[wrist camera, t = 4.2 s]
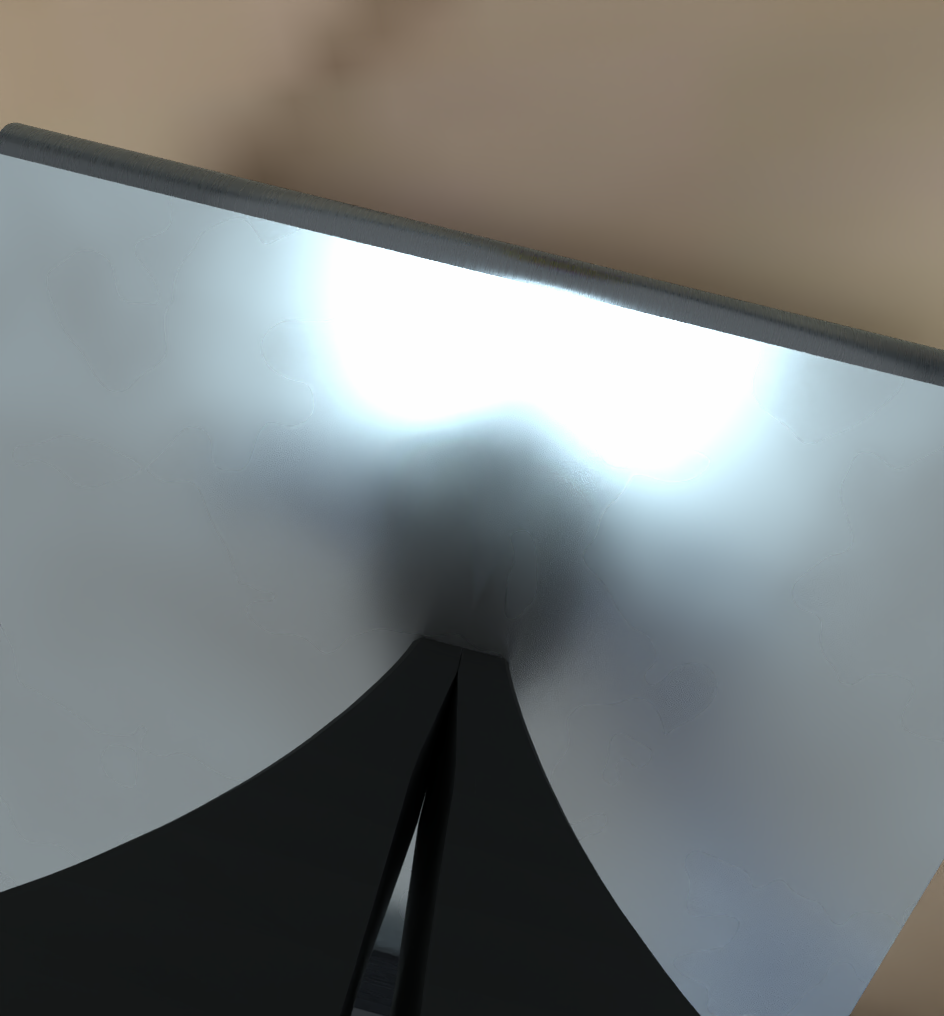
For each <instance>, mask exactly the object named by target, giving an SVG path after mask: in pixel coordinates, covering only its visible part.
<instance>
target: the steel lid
mask: <svg viewBox="0 0 944 1016" xmlns="http://www.w3.org/2000/svg"><path fill="white" fill-rule="evenodd" d="M421 637H425V638H429V639H433V640H436V641H440V642H444V643H448V644H452V645H455V646H459V647H463V648H467V649H471V650H474V651H478V652H482V653H486V654H490V655H494V656H498V657H501V658H504V659H505V661H506V662H507V664H508V666H509V668H510V673H511V678H512V682H513V686H514V689H515V693H516V696H517V700H518V703H519V706H520V709H521V712H522V715H523V718H524V721H525V724H526V726H527V729H528V732H529V734H530V737H531V739H532V742H533V744H534V747H535V749H536V752H537V754H538V757H539V759H540V762H541V764H542V767H543V769H544V771H545V773H546V776H547V778H548V780H549V783H550V785H551V787H552V789H553V791H554V793H555V795H556V797H557V799H558V801H559V803H560V806H561V808H562V810H563V812H564V814H565V816H566V818H567V820H568V821H569V823H570V825H571V827H572V829H573V831H574V833H575V835H576V837H577V838H578V840H579V842H580V844H581V846H582V848H583V849H584V851H585V853H586V854H587V856H588V858H589V859H590V861H591V863H592V865H593V866H594V868H595V870H596V871H597V873H598V875H599V876H600V878H601V880H602V881H603V883H604V884H605V886H606V888H607V889H608V891H609V892H610V894H611V895H612V897H613V898H614V900H615V902H616V903H617V905H618V906H619V908H620V909H621V911H622V912H623V914H624V915H625V916H626V918H627V919H628V920H629V922H630V923H631V925H632V926H633V927H634V929H635V930H636V932H637V933H638V934H639V936H640V937H641V938H642V940H643V941H644V943H645V944H646V945H647V947H648V948H649V950H650V951H651V952H652V954H653V955H654V956H655V958H656V959H657V961H658V962H659V963H660V965H661V966H662V968H663V969H664V970H665V972H666V973H667V974H668V975H669V977H670V978H671V979H672V981H673V982H674V983H675V985H676V986H677V987H678V988H679V990H680V991H681V992H682V994H683V995H684V996H685V997H686V999H687V1000H688V1001H689V1002H690V1003H691V1005H692V1006H693V1007H694V1008H695V1009H696V1011H697V1012H698V1013H699V1014H700V1015H701V1016H849V1015H850V1013H851V1012H852V1010H853V1009H854V1007H855V1005H856V1004H857V1002H858V1000H859V999H860V997H861V995H862V994H863V992H864V990H865V989H866V987H867V985H868V984H869V982H870V980H871V979H872V977H873V975H874V974H875V972H876V970H877V969H878V967H879V965H880V964H881V962H882V960H883V959H884V957H885V955H886V954H887V952H888V950H889V949H890V947H891V946H892V944H893V942H894V941H895V939H896V937H897V936H898V934H899V932H900V931H901V929H902V927H903V926H904V924H905V922H906V921H907V919H908V917H909V916H910V914H911V912H912V911H913V909H914V907H915V906H916V904H917V902H918V901H919V899H920V897H921V896H922V894H923V892H924V891H925V889H926V888H927V886H928V884H929V883H930V881H931V879H932V878H933V876H934V874H935V873H936V871H937V869H938V868H939V866H940V864H941V863H942V861H943V859H944V350H941V349H937V348H933V347H929V346H925V345H921V344H917V343H913V342H909V341H904V340H900V339H896V338H892V337H888V336H884V335H880V334H876V333H872V332H868V331H864V330H860V329H856V328H851V327H847V326H843V325H839V324H835V323H831V322H827V321H823V320H819V319H815V318H811V317H807V316H803V315H799V314H794V313H790V312H786V311H782V310H778V309H774V308H770V307H766V306H762V305H758V304H754V303H750V302H746V301H741V300H737V299H733V298H729V297H725V296H721V295H717V294H713V293H709V292H705V291H701V290H697V289H693V288H689V287H684V286H680V285H676V284H672V283H668V282H664V281H660V280H656V279H652V278H648V277H644V276H640V275H636V274H631V273H627V272H623V271H619V270H615V269H611V268H607V267H603V266H599V265H595V264H591V263H587V262H583V261H578V260H574V259H570V258H566V257H562V256H558V255H554V254H550V253H546V252H542V251H538V250H534V249H530V248H526V247H521V246H517V245H513V244H509V243H505V242H501V241H497V240H493V239H489V238H485V237H481V236H477V235H473V234H468V233H464V232H460V231H456V230H452V229H448V228H444V227H440V226H436V225H432V224H428V223H424V222H420V221H416V220H411V219H407V218H403V217H399V216H395V215H391V214H387V213H383V212H379V211H375V210H371V209H367V208H363V207H358V206H354V205H350V204H346V203H342V202H338V201H334V200H330V199H326V198H322V197H318V196H314V195H310V194H305V193H301V192H297V191H293V190H289V189H285V188H281V187H277V186H273V185H269V184H265V183H261V182H257V181H253V180H248V179H244V178H240V177H236V176H232V175H228V174H224V173H220V172H216V171H212V170H208V169H204V168H200V167H195V166H191V165H187V164H183V163H179V162H175V161H171V160H167V159H163V158H159V157H155V156H151V155H147V154H143V153H138V152H134V151H130V150H126V149H122V148H118V147H114V146H110V145H106V144H102V143H98V142H94V141H90V140H85V139H81V138H77V137H73V136H69V135H65V134H61V133H57V132H53V131H49V130H45V129H41V128H37V127H33V126H28V125H24V124H20V123H10V124H8V125H6V126H5V127H4V128H3V129H2V130H1V131H0V892H2V891H5V890H8V889H11V888H14V887H16V886H19V885H22V884H25V883H28V882H31V881H33V880H36V879H39V878H42V877H45V876H48V875H50V874H53V873H55V872H58V871H60V870H63V869H65V868H68V867H71V866H73V865H76V864H78V863H80V862H83V861H85V860H88V859H90V858H92V857H94V856H97V855H99V854H101V853H103V852H105V851H108V850H110V849H112V848H114V847H117V846H119V845H121V844H123V843H125V842H128V841H130V840H132V839H134V838H137V837H139V836H141V835H143V834H145V833H148V832H150V831H152V830H154V829H156V828H159V827H161V826H163V825H165V824H167V823H169V822H171V821H173V820H175V819H177V818H179V817H181V816H183V815H185V814H187V813H189V812H191V811H192V810H194V809H196V808H198V807H200V806H202V805H204V804H205V803H207V802H209V801H211V800H212V799H214V798H216V797H218V796H220V795H221V794H223V793H225V792H227V791H228V790H230V789H232V788H234V787H235V786H237V785H239V784H241V783H243V782H244V781H246V780H248V779H249V778H251V777H252V776H254V775H256V774H257V773H259V772H260V771H262V770H263V769H265V768H267V767H268V766H270V765H271V764H273V763H274V762H276V761H277V760H279V759H280V758H282V757H283V756H285V755H286V754H288V753H289V752H291V751H292V750H294V749H295V748H296V747H298V746H299V745H301V744H302V743H303V742H305V741H306V740H308V739H309V738H310V737H311V736H313V735H314V734H315V733H317V732H318V731H319V730H320V729H322V728H323V727H324V726H325V725H327V724H328V723H329V722H331V721H332V720H333V719H334V718H336V717H337V716H338V715H340V714H341V713H342V712H343V711H345V710H346V709H347V708H348V707H349V706H350V705H352V704H353V703H354V702H355V701H356V700H357V699H358V698H359V697H360V696H362V695H363V694H364V693H365V692H366V691H367V690H368V689H369V688H370V687H371V686H373V685H374V684H375V683H376V682H377V681H378V680H379V679H380V678H381V677H382V676H383V675H384V674H385V673H386V672H387V671H388V670H389V669H390V668H391V667H392V666H393V665H394V664H395V663H396V662H397V661H398V660H399V658H400V657H401V656H402V655H403V654H404V653H405V651H406V650H407V649H408V648H409V646H410V645H411V644H412V642H413V641H415V640H417V639H419V638H421ZM463 648H462V650H463ZM461 654H462V653H461ZM460 658H461V657H460ZM425 794H426V793H425ZM424 798H425V797H424ZM423 802H424V801H423ZM422 806H423V805H422ZM421 810H422V809H421ZM420 814H421V812H420ZM419 818H420V816H419ZM418 822H419V820H418ZM417 829H418V823H417V826H416V829H415V832H414V835H413V838H412V840H411V843H410V846H409V849H408V852H407V855H406V857H405V860H404V863H403V866H402V869H401V872H400V875H399V877H398V880H397V883H396V886H395V889H394V891H393V894H392V897H391V900H390V903H389V906H388V908H387V911H386V914H385V917H384V920H383V922H382V925H381V928H380V931H379V934H378V937H377V939H376V942H375V945H374V948H373V951H372V954H371V956H370V959H369V962H368V965H367V968H366V970H365V973H364V976H363V979H362V983H361V986H360V989H359V992H358V995H357V999H356V1002H355V1005H354V1008H353V1011H352V1014H351V1016H390V1011H391V1005H392V999H393V994H394V988H395V982H396V975H397V968H398V961H399V954H400V947H401V940H402V933H403V926H404V919H405V912H406V905H407V898H408V891H409V884H410V877H411V870H412V863H413V856H414V849H415V842H416V835H417Z"/></svg>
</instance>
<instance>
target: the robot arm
mask: <svg viewBox="0 0 944 1016" xmlns="http://www.w3.org/2000/svg"><path fill="white" fill-rule="evenodd" d="M462 648H463V647H459V646H455V645H452V644H448V643H444V642H440V641H436V640H433V639H429V638H425V637H421V638H419V639H417V640H415V641H413V642H412V644H411V645H410V646H409V648H408V649H407V650H406V651H405V653H404V654H403V655H402V656H401V657H400V658H399V660H398V661H397V662H396V663H395V664H394V665H393V666H392V667H391V668H390V669H389V670H388V671H387V672H386V673H385V674H384V675H383V676H382V677H381V678H380V679H379V680H378V681H377V682H376V683H375V684H374V685H373V686H371V687H370V688H369V689H368V690H367V691H366V692H365V693H364V694H363V695H362V696H360V697H359V698H358V699H357V700H356V701H355V702H354V703H353V704H352V705H350V706H349V707H348V708H347V709H346V710H345V711H343V712H342V713H341V714H340V715H338V716H337V717H336V718H334V719H333V720H332V721H331V722H329V723H328V724H327V725H325V726H324V727H323V728H322V729H320V730H319V731H318V732H317V733H315V734H314V735H313V736H311V737H310V738H309V739H308V740H306V741H305V742H303V743H302V744H301V745H299V746H298V747H296V748H295V749H294V750H292V751H291V752H289V753H288V754H286V755H285V756H283V757H282V758H280V759H279V760H277V761H276V762H274V763H273V764H271V765H270V766H268V767H267V768H265V769H263V770H262V771H260V772H259V773H257V774H256V775H254V776H252V777H251V778H249V779H248V780H246V781H244V782H243V783H241V784H239V785H237V786H235V787H234V788H232V789H230V790H228V791H227V792H225V793H223V794H221V795H220V796H218V797H216V798H214V799H212V800H211V801H209V802H207V803H205V804H204V805H202V806H200V807H198V808H196V809H194V810H192V811H191V812H189V813H187V814H185V815H183V816H181V817H179V818H177V819H175V820H173V821H171V822H169V823H167V824H165V825H163V826H161V827H159V828H156V829H154V830H152V831H150V832H148V833H145V834H143V835H141V836H139V837H137V838H134V839H132V840H130V841H128V842H125V843H123V844H121V845H119V846H117V847H114V848H112V849H110V850H108V851H105V852H103V853H101V854H99V855H97V856H94V857H92V858H90V859H88V860H85V861H83V862H80V863H78V864H76V865H73V866H71V867H68V868H65V869H63V870H60V871H58V872H55V873H53V874H50V875H48V876H45V877H42V878H39V879H36V880H33V881H31V882H28V883H25V884H22V885H19V886H16V887H14V888H11V889H8V890H5V891H2V892H0V1016H351V1014H352V1011H353V1008H354V1005H355V1002H356V999H357V995H358V992H359V989H360V986H361V983H362V979H363V976H364V973H365V970H366V968H367V965H368V962H369V959H370V956H371V954H372V951H373V948H374V945H375V942H376V939H377V937H378V934H379V931H380V928H381V925H382V922H383V920H384V917H385V914H386V911H387V908H388V906H389V903H390V900H391V897H392V894H393V891H394V889H395V886H396V883H397V880H398V877H399V875H400V872H401V869H402V866H403V863H404V860H405V857H406V855H407V852H408V849H409V846H410V843H411V840H412V838H413V835H414V832H415V829H416V826H417V823H418V829H417V835H416V842H415V849H414V856H413V863H412V870H411V877H410V884H409V891H408V898H407V905H406V912H405V919H404V926H403V933H402V940H401V947H400V954H399V961H398V968H397V975H396V982H395V988H394V994H393V999H392V1005H391V1011H390V1016H701V1015H700V1014H699V1013H698V1012H697V1011H696V1009H695V1008H694V1007H693V1006H692V1005H691V1003H690V1002H689V1001H688V1000H687V999H686V997H685V996H684V995H683V994H682V992H681V991H680V990H679V988H678V987H677V986H676V985H675V983H674V982H673V981H672V979H671V978H670V977H669V975H668V974H667V973H666V972H665V970H664V969H663V968H662V966H661V965H660V963H659V962H658V961H657V959H656V958H655V956H654V955H653V954H652V952H651V951H650V950H649V948H648V947H647V945H646V944H645V943H644V941H643V940H642V938H641V937H640V936H639V934H638V933H637V932H636V930H635V929H634V927H633V926H632V925H631V923H630V922H629V920H628V919H627V918H626V916H625V915H624V914H623V912H622V911H621V909H620V908H619V906H618V905H617V903H616V902H615V900H614V898H613V897H612V895H611V894H610V892H609V891H608V889H607V888H606V886H605V884H604V883H603V881H602V880H601V878H600V876H599V875H598V873H597V871H596V870H595V868H594V866H593V865H592V863H591V861H590V859H589V858H588V856H587V854H586V853H585V851H584V849H583V848H582V846H581V844H580V842H579V840H578V838H577V837H576V835H575V833H574V831H573V829H572V827H571V825H570V823H569V821H568V820H567V818H566V816H565V814H564V812H563V810H562V808H561V806H560V803H559V801H558V799H557V797H556V795H555V793H554V791H553V789H552V787H551V785H550V783H549V780H548V778H547V776H546V773H545V771H544V769H543V767H542V764H541V762H540V759H539V757H538V754H537V752H536V749H535V747H534V744H533V742H532V739H531V737H530V734H529V732H528V729H527V726H526V724H525V721H524V718H523V715H522V712H521V709H520V706H519V703H518V700H517V696H516V693H515V689H514V686H513V682H512V678H511V673H510V668H509V666H508V664H507V662H506V661H505V659H504V658H501V657H498V656H494V655H490V654H486V653H482V652H478V651H474V650H471V649H467V648H463V650H462ZM461 653H462V654H461ZM460 657H461V658H460ZM425 793H426V794H425ZM424 797H425V798H424ZM423 801H424V802H423ZM422 805H423V806H422ZM421 809H422V810H421ZM420 812H421V814H420ZM419 816H420V818H419ZM418 820H419V822H418Z"/></svg>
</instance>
